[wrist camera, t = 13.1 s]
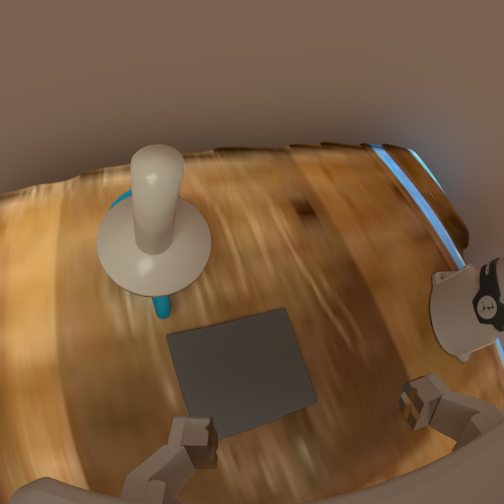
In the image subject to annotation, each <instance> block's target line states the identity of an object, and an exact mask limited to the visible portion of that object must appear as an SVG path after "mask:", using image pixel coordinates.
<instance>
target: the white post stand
mask: <svg viewBox="0 0 504 504" xmlns="http://www.w3.org/2000/svg"><path fill="white" fill-rule="evenodd" d="M183 169H184V159H183V157H182V155H181V154H180V153H179V152H178V151H177V150H176V149H174V148H172V147H169V146H166V145H159V144H157V145H149V146H146V147H144V148H142V149H140V150H139V151H137V152H136V153H135V154H134V156H133V158H132V160H131V185H132V195H131V196H129V197H127V198H125V199H123V200H121V201H120V202H118V203H117V204H116V205H115V206H113V207H112V208H111V209H110V210H109V212H108V213H107V214H106V216H105V217H104V219H103V220H102V223H101V225H100V227H99V231H98V235H97V251H98V256H99V259H100V262H101V264H102V267H103V269H104V271H105V272H106V274H107V275H108V276H109V278H110V279H111V280H112V281H113V282H114V283H115V284H117V285H118V286H119V287H121V288H122V289H124V290H126V291H128V292H130V293H132V294H135V295H139V296H144V297H164V296H168V295H172V294H175V293H177V292H180V291H182V290H183V289H185V288H187V287H188V286H190V285H191V284H192V283H193V282H194V281H195V280H196V279H197V278H198V277H199V276H200V274H201V273H202V272H203V270H204V268H205V266H206V264H207V261H208V259H209V256H210V251H211V235H210V230H209V227H208V225H207V222H206V221H205V219H204V217H203V216H202V214H201V213H200V212H199V211H198V210H197V208H196V207H194V206H193V205H192V204H191V203H189V202H188V201H186V200H185V199H183V198H181V197H179V191H180V186H181V180H182V174H183Z"/></svg>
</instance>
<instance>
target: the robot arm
mask: <svg viewBox="0 0 504 504" xmlns="http://www.w3.org/2000/svg"><path fill="white" fill-rule="evenodd" d="M432 283H433V290H432V294H431V299H430V313H431V320H432V325H433V328H434V331H435V334H436V337H437V339H438V341H439V343H440V344H441V346H442V347H443V348H444V350H445V351H447V352H448V353H449V354H451V355H455V356H457V357H458V359H459V360H460V361H461V362H463V363H464V362H466V361H468V360H469V358H470V356H471V354H472V352H474V351H476V350H479V349H481V348H483V347H486V346H488V345H490V344H492V343H494V342H495V340H496V338H497V336H498V334H499V332H502V331H504V257H502V258H501V259H500V258H496V259H494V260H492V261H490V262H488V263H487V264H486V265H484V266H483V267H482V268H477V267H474V266H473V264H472V263H470V264H468V265H466V266H464V267H463V269H462V270H460V271H447V272H436V273H434V274H433V275H432ZM403 390H404V392H403V394H402V395H401V396H400V400H399V407H400V410H401V412H402V414H403V415H405V416H407V417H408V419H407V422H408V423H409V425H410V427H411V428H412V430H413V431H414V430H417V429H420V428H422V427H425V426H427V425H429V426H430V427H432V428H433V429H435V430H437V431H439V432H441V433H442V434H444V435H446V436H448V437H450V438H452V439H453V440H455V441H457V443H456V445H455V446H454V448H453V450H452V452H451V453H449V454H448V455H446V456H444V457H442V458H440V459H438V460H436V461H434V462H431V463H429V464H427V465H425V466H423V467H421V468H418V469H416V470H414V471H411V472H409V473H406V474H404V475H401V476H399V477H396V478H394V479H391V480H388V481H385V482H382V483H380V484H377V485H373V486H370V487H367V488H364V489H360V490H357V491H353V492H350V493H346V494H342V495H338V496H334V497H329V498H325V499H320V500H315V501H310V502H304V503H298V504H504V416H503V415H502V414H501V412H500V411H499V410H498V409H497V408H496V407H495V406H494V405H493V404H492V403H489V402H486V401H483V400H480V399H476V398H473V397H470V396H467V395H464V394H461V393H458V392H455V391H454V392H451V390H450V389H449V388H448V387H447V386H446V385H445V384H444V382H443V381H442V380H441V379H440V378H439V377H438V376H437V374H436V373H433V372H432V373H430V374H427V375H424V376H421V377H419V378H416V379H413V380H410V381H407V382H405V384H404V385H403ZM213 425H214V421H213V418H212V417H211V416H175V417H174V419H173V422H172V427H171V431H170V435H169V439H168V444H167V445H163V446H162V447H161V448H160V449H159V450H157V451H156V452H155V453H154V454H153V455H151V456H150V457H149V458H148V459H147V460H145V461H144V462H143V463H142V464H141V465H139V466H138V467H137V468H136V469H134V470H133V471H132V472H131V473H129V474H128V475H127V477H126V481H125V484H124V487H123V491H122V494H121V498H115V497H111V496H107V495H103V494H99V493H96V492H92V491H89V490H85V489H82V488H79V487H76V486H73V485H70V484H67V483H64V482H61V481H59V480H56V479H53V478H50V477H42V478H39V479H37V480H35V481H32V482H30V483H28V484H26V485H24V486H22V487H20V488H19V489H18V490H17V491H16V492H15V493H14V495H13V496H12V497H11V499H10V501H9V503H8V504H181V503H180V502H179V501H178V499H177V498H176V497H175V495H176V494H177V493H178V492H179V491H180V489H181V488H182V487H183V486H184V485H185V484H186V482H187V481H188V480H189V479H190V478H191V476H192V475H193V474H194V473H195V472H196V469H217V454H216V450H217V449H218V435H217V431H216V428H214V427H213Z"/></svg>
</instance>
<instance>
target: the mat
mask: <svg viewBox="0 0 504 504" xmlns="http://www.w3.org/2000/svg"><path fill="white" fill-rule="evenodd" d="M166 337H167V341H168V344H169V348H170V352H171V356H172V359H173V363H174V366H175V370H176V373H177V377H178V380H179V383H180V387H181V390H182V393H183V396H184V399H185V402H186V406H187V409H188V412H189V414H190V416H211V417H212V418H213V421H214V425H213V427H214V428H216V431H217V435H218V439H221V438H225V437H228V436H231V435H234V434H237V433H240V432H243V431H246V430H249V429H252V428H255V427H257V426H260V425H263V424H265V423H268V422H271V421H273V420H276V419H278V418H281V417H283V416H286V415H288V414H290V413H293V412H295V411H297V410H300V409H302V408H304V407H306V406H309V405H311V404H313V403H315V402H317V398H316V395H315V392H314V389H313V386H312V383H311V381H310V378H309V375H308V372H307V369H306V366H305V363H304V360H303V357H302V354H301V352H300V349H299V346H298V343H297V340H296V337H295V334H294V331H293V329H292V326H291V323H290V320H289V317H288V314H287V312H286V309H285V308H281V309H278V310H274V311H270V312H267V313H263V314H259V315H255V316H251V317H247V318H243V319H239V320H235V321H231V322H226V323H222V324H218V325H214V326H209V327H205V328H200V329H196V330H191V331H186V332H182V333H177V334H172V335H167V336H166Z"/></svg>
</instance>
